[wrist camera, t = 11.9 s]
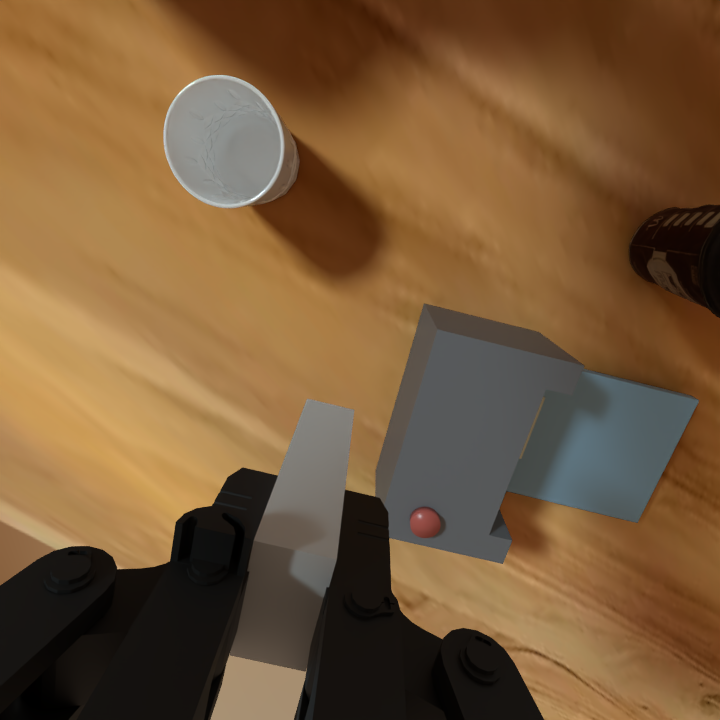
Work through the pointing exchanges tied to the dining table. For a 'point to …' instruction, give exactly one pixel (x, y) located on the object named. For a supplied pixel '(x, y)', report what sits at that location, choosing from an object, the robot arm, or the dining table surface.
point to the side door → (602, 445)
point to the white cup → (229, 144)
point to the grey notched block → (464, 429)
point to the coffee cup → (681, 253)
